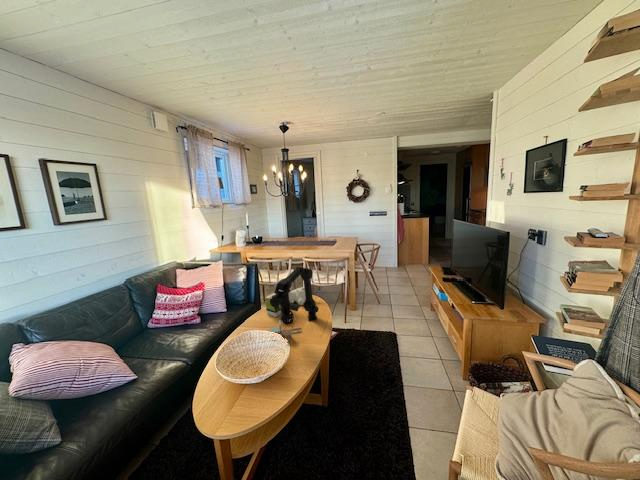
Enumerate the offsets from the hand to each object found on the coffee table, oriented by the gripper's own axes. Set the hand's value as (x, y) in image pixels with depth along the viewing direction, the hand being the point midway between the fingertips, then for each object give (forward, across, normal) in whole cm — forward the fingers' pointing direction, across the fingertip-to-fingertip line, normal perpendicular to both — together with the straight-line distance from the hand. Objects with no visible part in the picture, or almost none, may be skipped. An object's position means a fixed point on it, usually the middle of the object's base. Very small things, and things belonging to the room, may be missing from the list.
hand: (286, 323), depth 162 cm
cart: (+11, +8, +8) cm, 16 cm away
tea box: (+11, +40, +6) cm, 42 cm away
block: (+11, 0, 0) cm, 11 cm away
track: (+11, +8, +1) cm, 14 cm away
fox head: (+11, +52, -13) cm, 54 cm away
